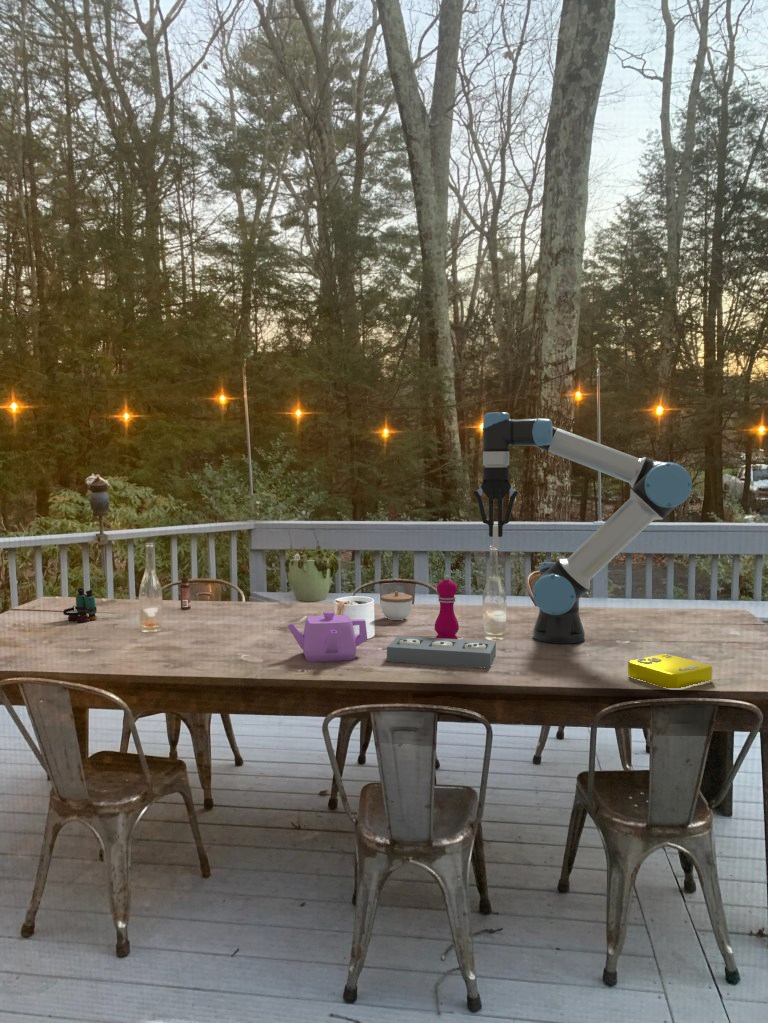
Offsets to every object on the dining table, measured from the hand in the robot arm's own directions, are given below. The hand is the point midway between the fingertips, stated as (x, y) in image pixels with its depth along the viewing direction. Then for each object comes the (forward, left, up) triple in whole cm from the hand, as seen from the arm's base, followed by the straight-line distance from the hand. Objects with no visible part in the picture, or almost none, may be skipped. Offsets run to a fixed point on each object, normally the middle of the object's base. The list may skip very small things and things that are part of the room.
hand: (495, 548), depth 221 cm
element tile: (-45, +25, -29) cm, 59 cm away
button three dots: (+3, +20, -28) cm, 34 cm away
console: (+12, +20, -28) cm, 37 cm away
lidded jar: (+36, -27, -29) cm, 54 cm away
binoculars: (+138, +2, -29) cm, 141 cm away
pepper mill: (+14, +1, -29) cm, 32 cm away
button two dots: (+21, +20, -28) cm, 40 cm away
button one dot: (+12, +20, -28) cm, 36 cm away
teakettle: (+43, +25, -29) cm, 57 cm away
